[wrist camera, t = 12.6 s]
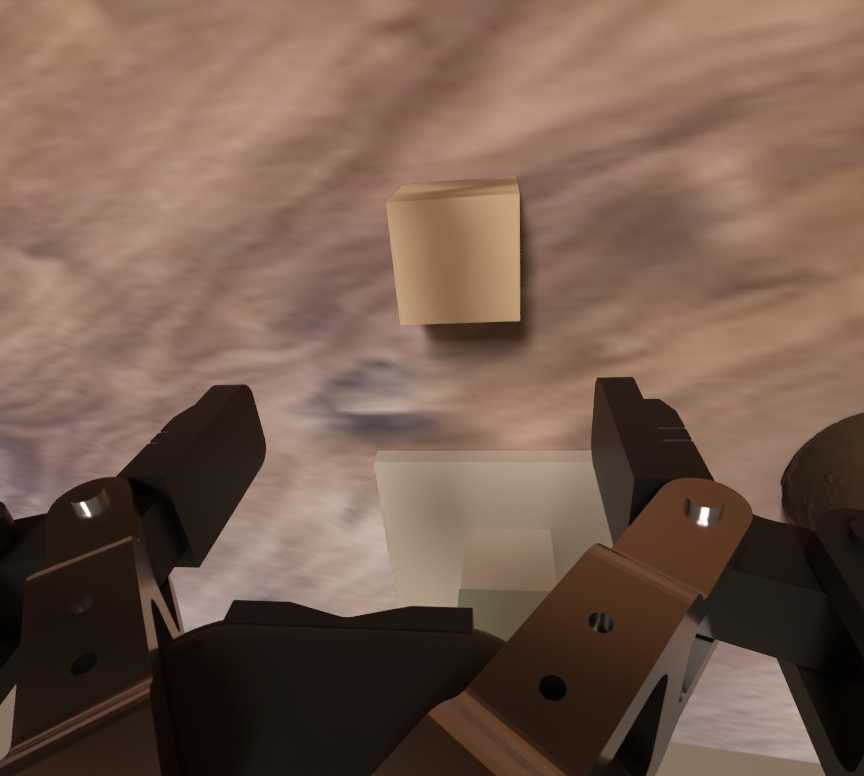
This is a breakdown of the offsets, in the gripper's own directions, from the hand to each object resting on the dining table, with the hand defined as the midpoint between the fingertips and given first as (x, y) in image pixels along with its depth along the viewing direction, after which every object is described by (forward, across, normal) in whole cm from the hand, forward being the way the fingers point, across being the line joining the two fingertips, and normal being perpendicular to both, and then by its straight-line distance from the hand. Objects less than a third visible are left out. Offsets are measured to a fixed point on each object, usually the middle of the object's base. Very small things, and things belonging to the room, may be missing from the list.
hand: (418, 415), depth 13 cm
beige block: (+16, -2, +21) cm, 26 cm away
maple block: (+17, 0, 0) cm, 17 cm away
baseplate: (+17, -2, +21) cm, 27 cm away
